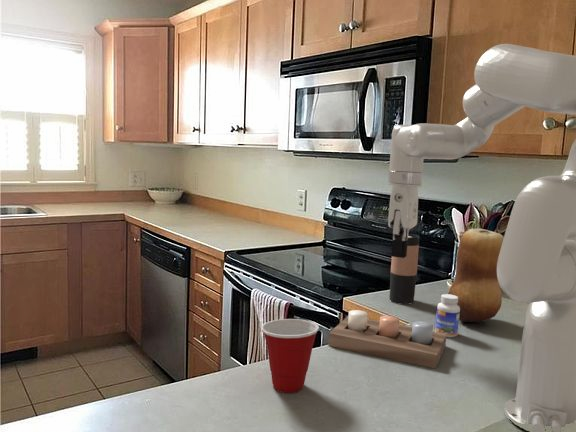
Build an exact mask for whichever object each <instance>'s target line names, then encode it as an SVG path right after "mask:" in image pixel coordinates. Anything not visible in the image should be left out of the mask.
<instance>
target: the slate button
mask: <svg viewBox="0 0 576 432" xmlns="http://www.w3.org/2000/svg"><path fill="white" fill-rule="evenodd" d="M411 327H412V338H411V341H412V342H414V343H420V344H425V345H431V343H432V331H434V325H433V324H432V323H430V322H427V321H414V322H412V326H411Z"/></svg>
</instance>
